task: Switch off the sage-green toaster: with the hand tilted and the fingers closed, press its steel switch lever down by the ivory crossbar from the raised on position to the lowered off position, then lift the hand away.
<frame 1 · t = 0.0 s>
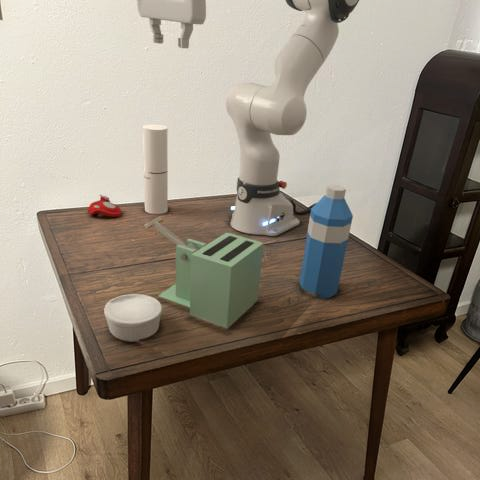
hand: (170, 45, 107), 48 cm above the table, tool pointing down, fingers open, 8 cm apart
cylindrical container: (156, 210, 156), on the table
lever: (173, 238, 106), point 13 cm above the table, hinge at 24.0°
switch bracket: (189, 299, 111), on the table
tracker holder: (106, 212, 152), on the table
water bottle: (317, 289, 120), on the table
toaster: (226, 280, 104), on the table
ramekin: (134, 330, 99), on the table
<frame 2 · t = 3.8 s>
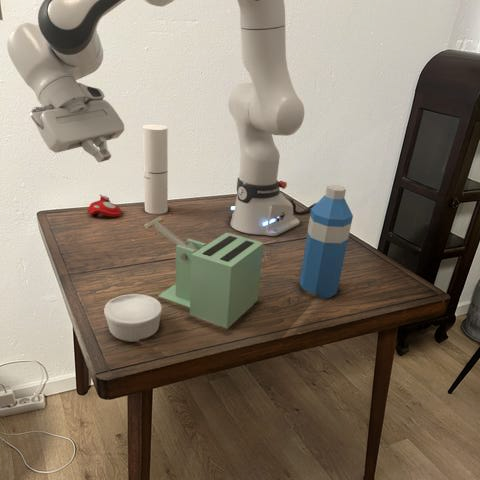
hand: (105, 159, 105), 27 cm above the table, tool tilted 45°, fingers closed
nothing on the table moved.
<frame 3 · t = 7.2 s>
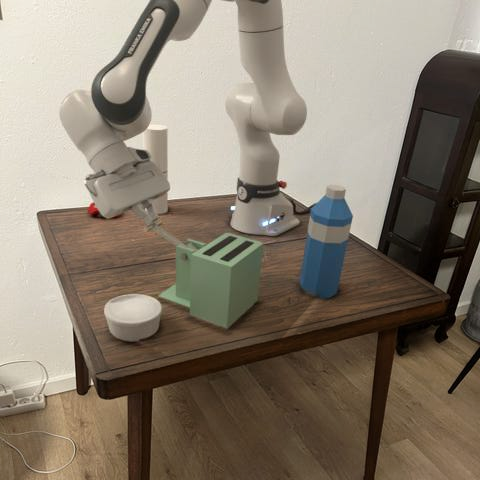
hand: (153, 221, 106), 16 cm above the table, tool tilted 45°, fingers closed, pressing on lever
lever: (173, 240, 106), point 13 cm above the table, hinge at 18.9°, touching gripper
everything else where it was.
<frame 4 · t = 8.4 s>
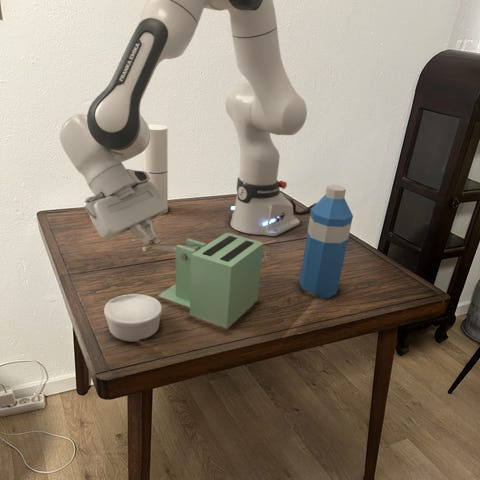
hand: (151, 241, 109), 11 cm above the table, tool tilted 45°, fingers closed, pressing on lever
lever: (172, 249, 107), point 11 cm above the table, hinge at -6.7°, touching gripper
everything else where it was.
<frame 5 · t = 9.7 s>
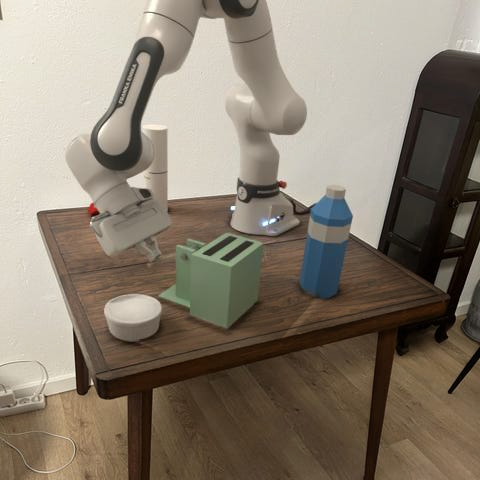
hand: (156, 258, 110), 8 cm above the table, tool tilted 45°, fingers closed, pressing on lever
lever: (174, 256, 108), point 9 cm above the table, hinge at -28.2°, touching gripper
everything else where it was.
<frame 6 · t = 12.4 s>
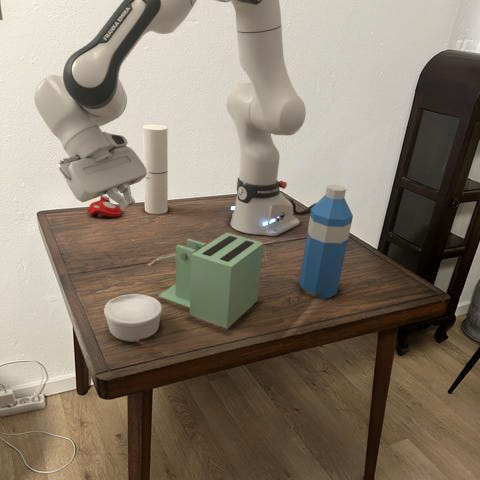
hand: (129, 206, 107), 18 cm above the table, tool tilted 45°, fingers closed
lever: (174, 256, 108), point 9 cm above the table, hinge at -28.3°
everything else where it was.
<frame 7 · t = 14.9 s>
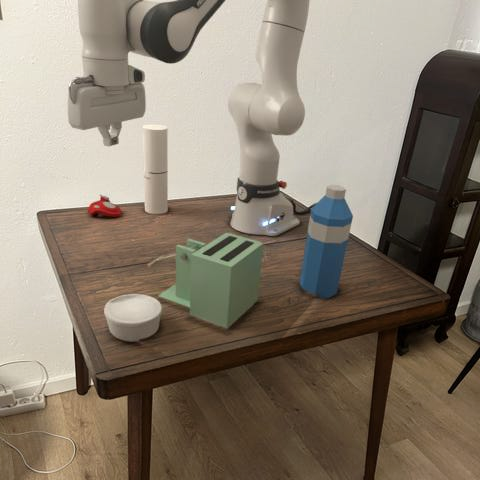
hand: (111, 144, 106), 29 cm above the table, tool pointing down, fingers closed
nothing on the table moved.
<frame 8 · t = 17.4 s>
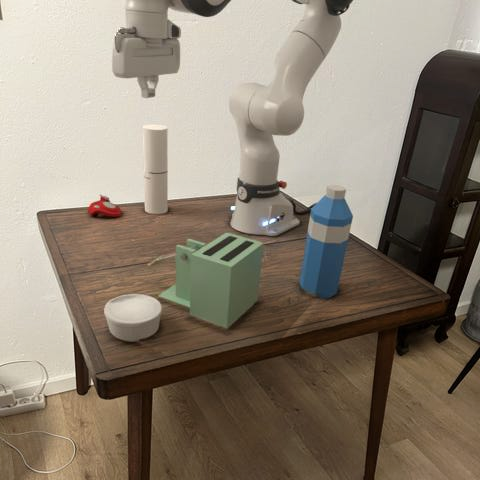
hand: (148, 97, 113), 37 cm above the table, tool pointing down, fingers closed
nothing on the table moved.
at the end: lever at -28° (first picture: +24°); the gripper is holding nothing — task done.
